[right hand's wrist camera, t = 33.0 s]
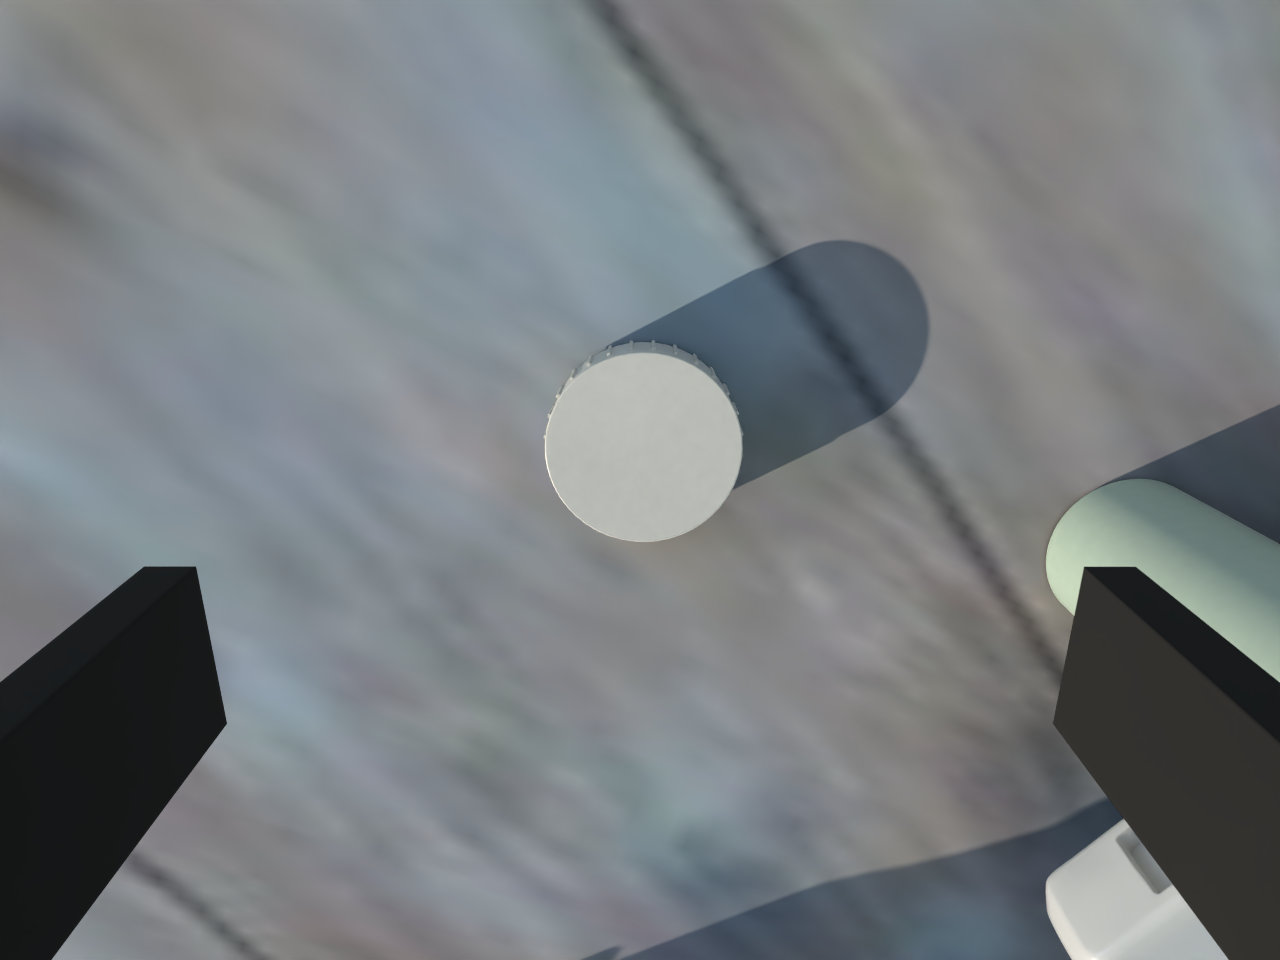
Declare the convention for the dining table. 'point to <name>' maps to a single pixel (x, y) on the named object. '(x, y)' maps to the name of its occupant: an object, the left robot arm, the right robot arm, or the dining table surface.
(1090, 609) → the right robot arm
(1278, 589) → the jar
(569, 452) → the lid
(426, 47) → the dining table surface
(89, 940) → the dining table surface
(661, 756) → the dining table surface
